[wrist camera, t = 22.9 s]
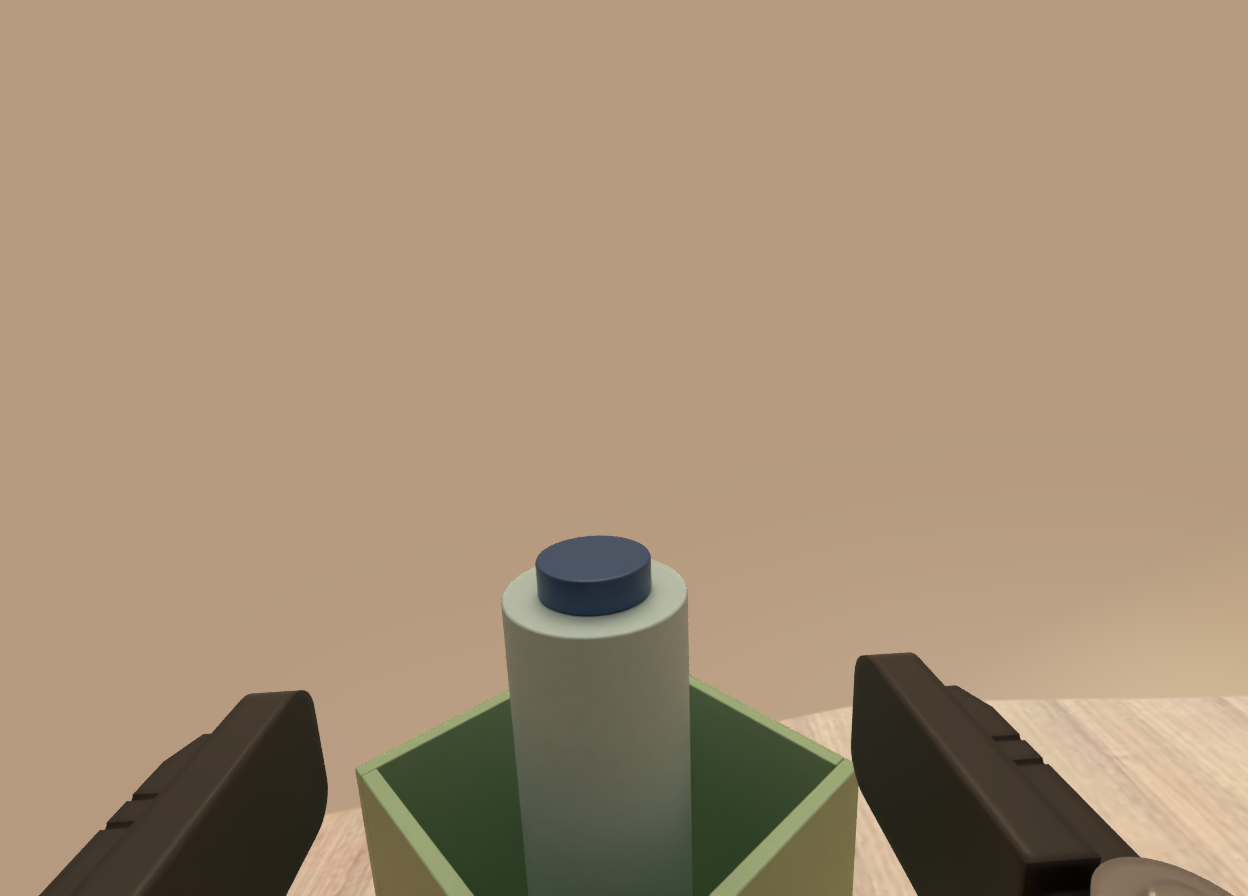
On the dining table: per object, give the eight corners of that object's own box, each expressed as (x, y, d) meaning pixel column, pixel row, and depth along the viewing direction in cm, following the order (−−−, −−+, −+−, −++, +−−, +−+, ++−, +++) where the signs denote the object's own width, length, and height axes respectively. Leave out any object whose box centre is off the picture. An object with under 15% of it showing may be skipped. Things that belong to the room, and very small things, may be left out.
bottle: (517, 1107, 20) (461, 588, 16) (576, 949, 25) (545, 518, 21) (677, 1167, 19) (661, 610, 14) (707, 986, 23) (702, 529, 19)
